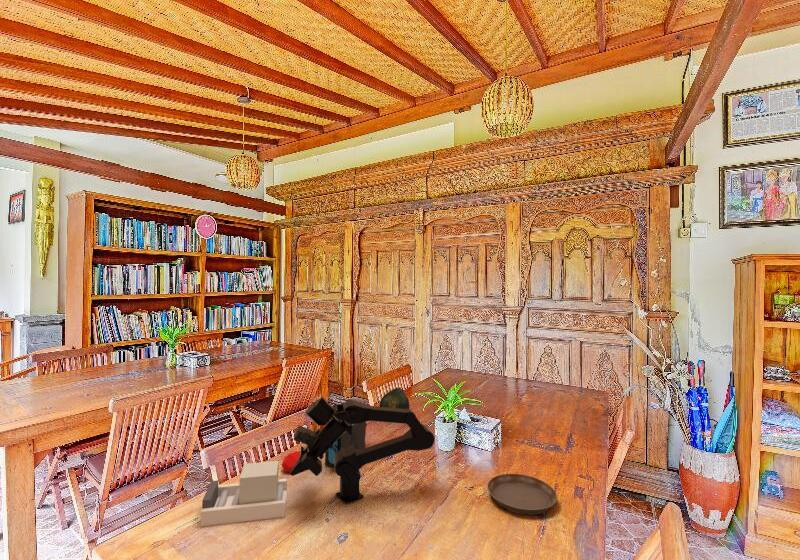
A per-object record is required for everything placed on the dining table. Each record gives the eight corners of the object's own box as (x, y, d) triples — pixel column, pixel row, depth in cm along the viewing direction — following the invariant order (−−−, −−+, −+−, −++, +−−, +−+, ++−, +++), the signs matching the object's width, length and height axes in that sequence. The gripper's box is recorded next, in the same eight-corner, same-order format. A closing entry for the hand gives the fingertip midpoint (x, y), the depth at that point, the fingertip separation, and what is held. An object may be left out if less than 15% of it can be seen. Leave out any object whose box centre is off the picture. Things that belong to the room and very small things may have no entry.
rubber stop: (218, 496, 123) (218, 480, 122) (209, 517, 112) (210, 499, 112) (210, 497, 122) (211, 481, 122) (202, 518, 112) (202, 500, 112)
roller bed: (286, 491, 129) (287, 478, 129) (284, 516, 115) (285, 502, 115) (211, 498, 124) (212, 485, 124) (200, 526, 110) (200, 511, 110)
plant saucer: (551, 527, 112) (551, 515, 112) (478, 506, 122) (479, 495, 122) (560, 493, 131) (560, 483, 131) (496, 477, 140) (497, 468, 140)
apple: (286, 462, 137) (303, 446, 144) (274, 460, 141) (291, 444, 148) (294, 478, 139) (310, 462, 145) (282, 476, 143) (298, 460, 149)
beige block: (278, 486, 125) (278, 460, 125) (276, 502, 116) (276, 474, 116) (243, 490, 123) (244, 463, 123) (239, 506, 114) (239, 478, 114)
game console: (335, 474, 140) (335, 432, 140) (319, 471, 142) (319, 429, 142) (369, 443, 166) (369, 408, 166) (355, 441, 169) (355, 406, 169)
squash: (369, 408, 195) (390, 386, 192) (380, 400, 209) (400, 380, 206) (389, 431, 191) (411, 409, 188) (399, 421, 205) (419, 401, 202)
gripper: (309, 407, 132) (273, 444, 130) (310, 429, 114) (268, 471, 112) (333, 430, 134) (298, 466, 132) (338, 454, 116) (297, 497, 114)
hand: (291, 474), depth 122 cm, fingers closed
